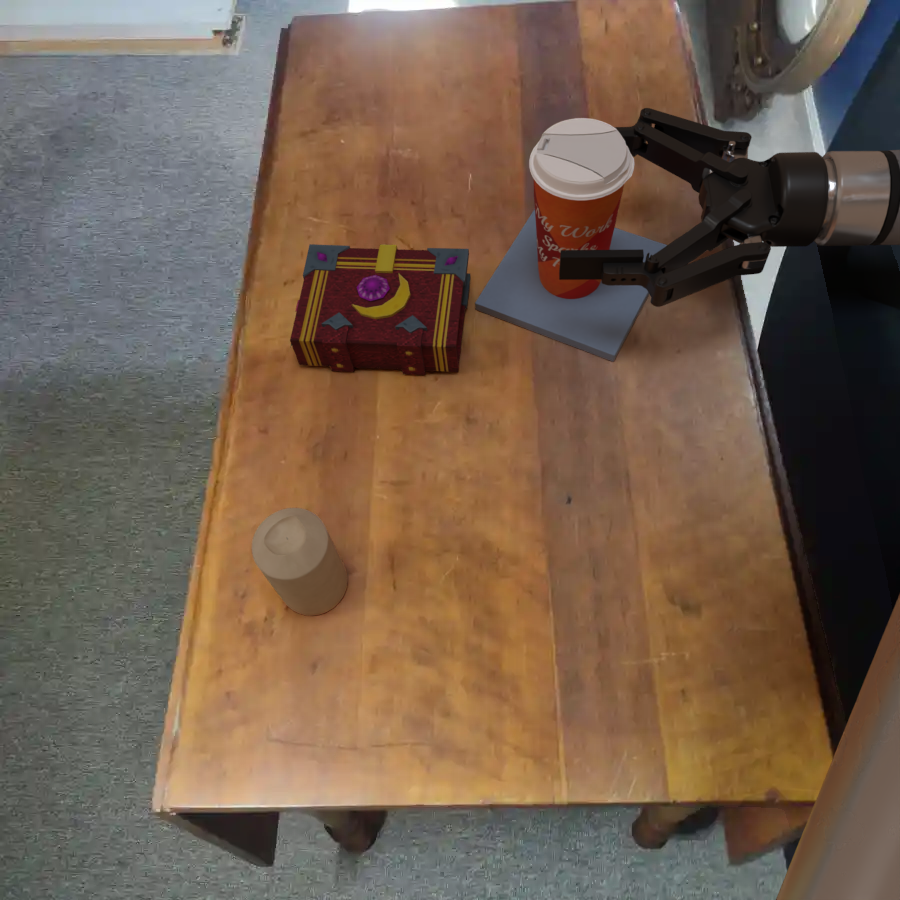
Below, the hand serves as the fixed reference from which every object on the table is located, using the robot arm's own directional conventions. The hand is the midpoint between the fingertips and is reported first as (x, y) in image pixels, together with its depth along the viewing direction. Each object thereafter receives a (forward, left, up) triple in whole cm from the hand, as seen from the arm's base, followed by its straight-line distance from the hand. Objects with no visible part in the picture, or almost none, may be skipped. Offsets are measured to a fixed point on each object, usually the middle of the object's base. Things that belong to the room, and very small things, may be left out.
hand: (558, 203), depth 72 cm
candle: (-36, +4, -11) cm, 38 cm away
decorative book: (-11, +13, -11) cm, 20 cm away
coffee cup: (+1, -1, -10) cm, 10 cm away
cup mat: (+1, -2, -10) cm, 10 cm away
